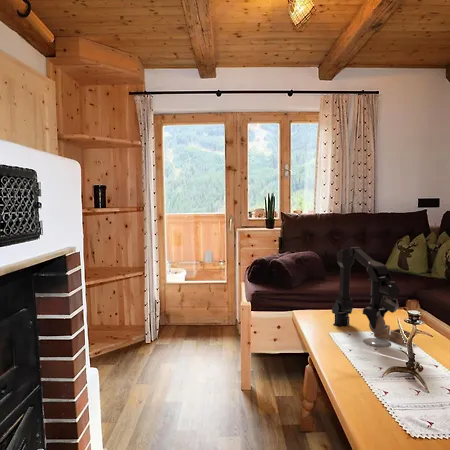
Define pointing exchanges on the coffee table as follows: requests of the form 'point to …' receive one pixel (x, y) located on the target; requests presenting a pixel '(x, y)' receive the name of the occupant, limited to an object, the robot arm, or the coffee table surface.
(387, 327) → the box
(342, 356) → the coffee table surface
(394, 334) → the box
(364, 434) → the coffee table surface
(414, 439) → the coffee table surface
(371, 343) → the coaster
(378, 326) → the vase
